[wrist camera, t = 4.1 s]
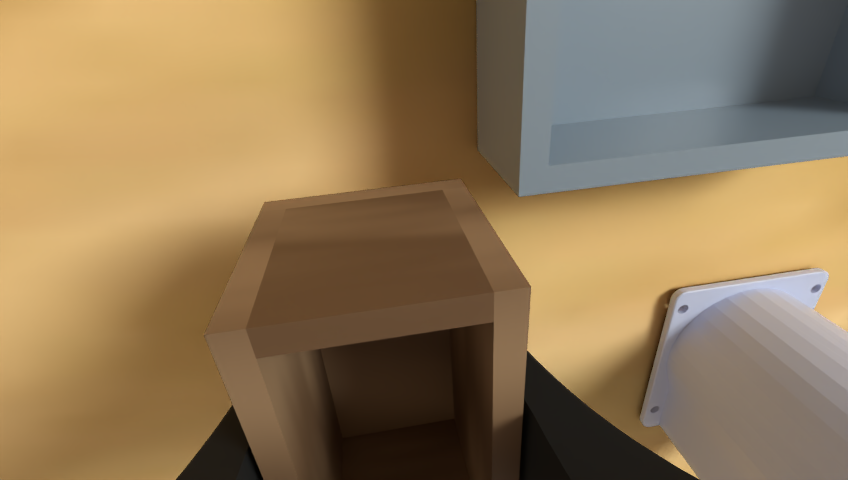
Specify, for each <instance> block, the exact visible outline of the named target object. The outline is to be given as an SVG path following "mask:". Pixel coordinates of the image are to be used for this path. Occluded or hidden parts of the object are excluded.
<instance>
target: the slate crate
mask: <svg viewBox="0 0 848 480" xmlns="http://www.w3.org/2000/svg"><path fill="white" fill-rule="evenodd" d="M476 22H477V135H478V151H479V152H480V154H481V155H482V156H483V157H484V158H485V159H486V160H487V161H488V163H489V164H490V165H491V166H492V167H493V168H494V169H495V171H496V172H497V173H498V174H499V175H500V176H501V177H502V178H503V180H504V181H505V182H506V183H507V184H508V185H509V186H510V188H511V189H512V190H513V191H514V192H515V193H516V194H517V195H518V197H522V196H530V195H538V194H546V193H554V192H562V191H570V190H578V189H586V188H594V187H602V186H610V185H618V184H626V183H634V182H642V181H650V180H658V179H666V178H675V177H683V176H691V175H699V174H707V173H715V172H723V171H731V170H739V169H747V168H755V167H763V166H771V165H779V164H787V163H795V162H803V161H811V160H820V159H828V158H836V157H844V156H848V0H476Z"/></svg>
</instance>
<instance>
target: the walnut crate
mask: <svg viewBox="0 0 848 480" xmlns="http://www.w3.org/2000/svg"><path fill="white" fill-rule="evenodd" d="M530 295H531V286H530V285H529V283H528V281H527V280H526V278H525V277H524V275H523V274H522V272H521V271H520V269H519V268H518V266H517V265H516V263H515V261H514V260H513V258H512V257H511V255H510V254H509V252H508V251H507V249H506V248H505V246H504V244H503V243H502V241H501V240H500V238H499V237H498V235H497V234H496V232H495V231H494V229H493V228H492V226H491V224H490V223H489V221H488V220H487V218H486V217H485V215H484V214H483V212H482V211H481V209H480V208H479V206H478V204H477V203H476V201H475V200H474V198H473V197H472V195H471V194H470V192H469V191H468V189H467V187H466V186H465V184H464V183H463V181H462V180H461V179H454V180H446V181H437V182H429V183H421V184H412V185H404V186H396V187H387V188H379V189H371V190H362V191H354V192H345V193H337V194H329V195H320V196H312V197H304V198H295V199H287V200H279V201H270V202H264V204H263V207H262V209H261V211H260V213H259V215H258V218H257V220H256V222H255V224H254V226H253V229H252V231H251V233H250V235H249V237H248V239H247V242H246V244H245V246H244V248H243V250H242V253H241V255H240V257H239V259H238V261H237V263H236V266H235V268H234V270H233V272H232V274H231V277H230V279H229V281H228V283H227V285H226V288H225V290H224V292H223V294H222V296H221V298H220V301H219V303H218V305H217V307H216V309H215V312H214V314H213V316H212V318H211V320H210V322H209V325H208V327H207V329H206V331H205V333H204V337H205V339H206V342H207V344H208V346H209V349H210V351H211V354H212V356H213V359H214V361H215V363H216V366H217V368H218V371H219V373H220V375H221V378H222V380H223V383H224V385H225V388H226V390H227V392H228V395H229V397H230V400H231V402H232V404H233V407H234V409H235V412H236V414H237V416H238V419H239V421H240V424H241V426H242V429H243V431H244V433H245V436H246V438H247V441H248V443H249V445H250V448H251V450H252V453H253V455H254V457H255V460H256V462H257V465H258V467H259V470H260V472H261V474H262V477H263V479H264V480H519V470H520V454H521V438H522V422H523V406H524V390H525V375H526V359H527V343H528V327H529V311H530Z"/></svg>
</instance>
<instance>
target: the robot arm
mask: <svg viewBox="0 0 848 480" xmlns="http://www.w3.org/2000/svg"><path fill="white" fill-rule="evenodd" d="M828 277H829V275H828V272H826V271H824V270H823V269H821V268H813V269H806V270H799V271H793V272H786V273H779V274H773V275H766V276H760V277H753V278H746V279H740V280H733V281H726V282H720V283H713V284H706V285H700V286H693V287H686V288H681V289H678V290H677V291H675V292H674V293H673V294H672V296H671V299H670V303H669V307H668V311H667V315H666V318H665V322H664V326H663V330H662V334H661V338H660V342H659V345H658V349H657V353H656V357H655V361H654V365H653V368H652V372H651V376H650V380H649V384H648V388H647V392H646V395H645V399H644V403H643V407H642V411H641V415H640V421H641V423H642V424H643V425H644V426H645V427H652V426H657V425H660V426H661V428H662V429H663V430H664V432H665V433H666V435H667V436H668V437H669V439H670V440H671V441H672V443H673V444H674V445H675V447H676V448H677V449H678V451H679V452H680V454H681V455H682V456H683V458H684V459H685V460H686V462H687V463H688V464H689V466H690V467H691V468H692V470H693V471H694V473H695V474H696V475H697V477H698V478H699V479H700V480H848V332H847V331H845V330H844V329H842V328H841V327H839V326H837V325H836V324H834V323H833V322H831V321H830V320H828V319H827V318H825V317H824V316H822V315H821V314H819V313H818V312H816V311H814V308H815V306H816V304H817V301H818V299H819V297H820V295H821V293H822V291H823V289H824V286H825V284H826V282H827V280H828ZM699 479H697V478H695V477H694V476H692V475H690V474H688V473H687V472H685V471H683V470H681V469H680V468H678V467H676V466H674V465H673V464H671V463H670V462H668V461H666V460H665V459H663V458H662V457H660V456H658V455H657V454H655V453H654V452H652V451H650V450H649V449H647V448H646V447H644V446H643V445H641V444H639V443H638V442H636V441H635V440H633V439H632V438H630V437H629V436H627V435H626V434H625V433H623V432H622V431H620V430H619V429H617V428H616V427H615V426H613V425H612V424H611V423H609V422H608V421H607V420H605V419H604V418H603V417H601V416H600V415H599V414H597V413H596V412H595V411H593V410H592V409H591V408H590V407H588V406H587V405H586V404H585V403H583V402H582V401H581V400H580V399H579V398H578V397H576V396H575V395H574V394H573V393H572V392H570V391H569V390H568V389H567V388H566V387H565V386H564V385H562V384H561V383H560V382H559V381H558V380H557V379H556V378H555V377H554V376H553V375H552V374H551V373H549V372H548V371H547V370H546V369H545V368H544V367H543V366H542V365H541V364H540V363H539V362H538V361H537V360H536V359H535V358H534V357H533V356H532V355H531V354H530V353H529V352H528V351H527V359H526V375H525V390H524V406H523V422H522V438H521V454H520V470H519V480H699ZM176 480H264V479H263V477H262V474H261V472H260V470H259V467H258V465H257V462H256V460H255V457H254V455H253V453H252V450H251V448H250V445H249V443H248V441H247V438H246V436H245V433H244V431H243V429H242V426H241V424H240V421H239V419H238V416H237V414H236V412H235V409H234V407H233V405H232V406H231V408H230V409H229V411H228V412H227V413H226V415H225V416H224V418H223V419H222V421H221V422H220V423H219V425H218V426H217V428H216V429H215V430H214V432H213V433H212V435H211V436H210V437H209V438H208V440H207V441H206V442H205V444H204V445H203V446H202V447H201V449H200V450H199V451H198V453H197V454H196V455H195V457H194V458H193V459H192V460H191V462H190V463H189V464H188V466H187V467H186V468H185V469H184V470H183V472H182V473H181V474H180V475H179V476H178V478H177V479H176Z"/></svg>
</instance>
